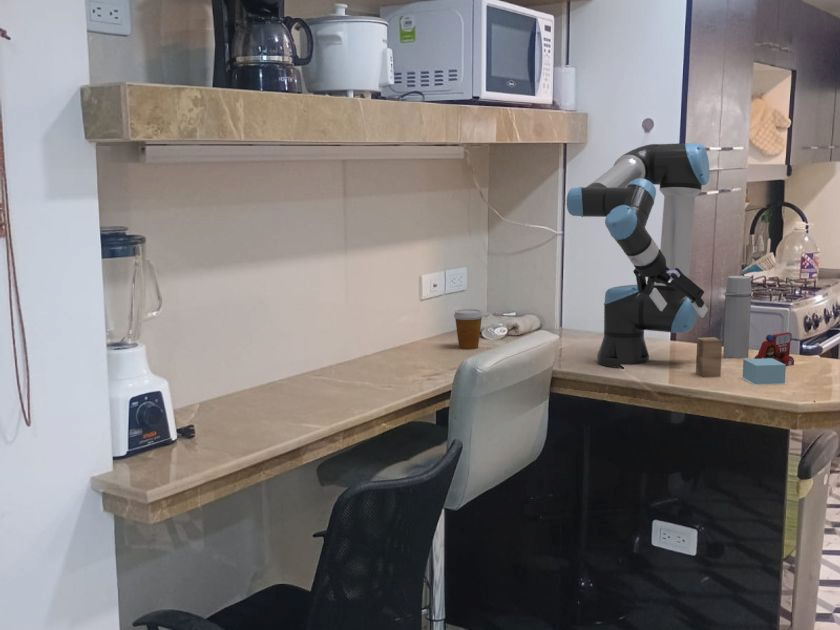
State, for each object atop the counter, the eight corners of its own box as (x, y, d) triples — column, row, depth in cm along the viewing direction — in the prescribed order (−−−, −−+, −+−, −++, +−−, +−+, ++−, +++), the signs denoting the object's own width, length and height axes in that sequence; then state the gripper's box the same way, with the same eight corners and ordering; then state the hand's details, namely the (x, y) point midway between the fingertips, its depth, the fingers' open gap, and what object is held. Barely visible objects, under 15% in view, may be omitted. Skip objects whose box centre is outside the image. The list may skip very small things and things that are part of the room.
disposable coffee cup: (452, 345, 301) (451, 309, 299) (480, 344, 302) (480, 308, 300) (456, 350, 292) (456, 314, 290) (485, 349, 293) (485, 313, 291)
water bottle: (754, 359, 273) (758, 277, 269) (737, 363, 268) (741, 279, 264) (728, 354, 280) (731, 274, 276) (711, 358, 276) (715, 276, 272)
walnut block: (695, 373, 252) (697, 337, 250) (713, 372, 252) (714, 337, 250) (702, 377, 247) (703, 341, 245) (720, 376, 247) (722, 340, 245)
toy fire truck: (748, 369, 261) (749, 333, 259) (778, 364, 267) (779, 329, 265) (767, 374, 255) (769, 337, 253) (797, 368, 261) (799, 333, 259)
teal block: (742, 377, 246) (743, 359, 245) (771, 376, 246) (772, 358, 246) (755, 384, 238) (756, 365, 237) (784, 383, 239) (785, 364, 238)
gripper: (602, 264, 239) (640, 315, 249) (677, 272, 218) (715, 327, 229) (617, 242, 241) (654, 294, 251) (693, 248, 220) (730, 304, 231)
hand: (683, 310), depth 240 cm, fingers open, 13 cm apart
